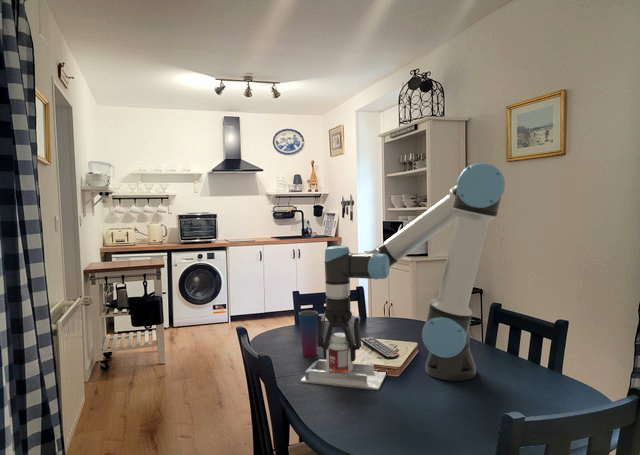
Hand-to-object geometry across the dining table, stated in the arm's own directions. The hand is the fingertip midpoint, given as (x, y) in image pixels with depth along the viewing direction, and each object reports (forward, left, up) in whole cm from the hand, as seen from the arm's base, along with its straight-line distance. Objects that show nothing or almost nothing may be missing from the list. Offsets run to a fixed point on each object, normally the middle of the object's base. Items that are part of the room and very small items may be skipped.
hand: (339, 369), depth 144 cm
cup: (+16, -18, -2) cm, 24 cm away
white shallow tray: (-2, 0, -2) cm, 3 cm away
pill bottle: (0, 0, -1) cm, 1 cm away
